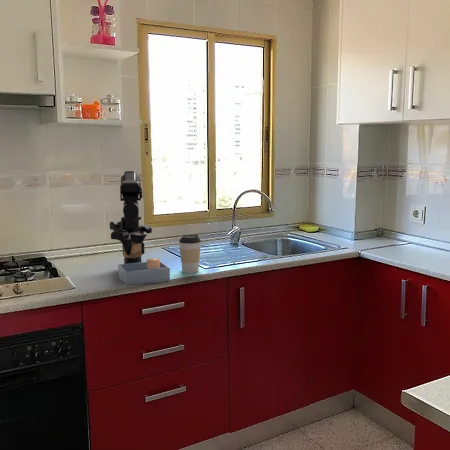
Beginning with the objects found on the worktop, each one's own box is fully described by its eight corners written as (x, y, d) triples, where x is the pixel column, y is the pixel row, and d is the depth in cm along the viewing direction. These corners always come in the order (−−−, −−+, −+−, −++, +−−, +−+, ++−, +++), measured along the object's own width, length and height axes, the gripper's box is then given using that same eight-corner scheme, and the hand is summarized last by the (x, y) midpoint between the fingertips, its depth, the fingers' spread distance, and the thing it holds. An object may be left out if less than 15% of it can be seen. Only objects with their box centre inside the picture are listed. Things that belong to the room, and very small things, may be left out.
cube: (141, 255, 199) (141, 243, 198) (133, 258, 195) (133, 245, 194) (131, 254, 201) (131, 242, 200) (123, 257, 197) (123, 244, 196)
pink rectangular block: (155, 274, 202) (154, 257, 201) (162, 276, 198) (162, 259, 198) (145, 277, 198) (144, 259, 198) (152, 278, 195) (151, 261, 194)
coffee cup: (183, 274, 205) (182, 238, 203) (176, 269, 213) (175, 234, 211) (204, 272, 209) (204, 236, 206) (196, 267, 217) (196, 232, 214)
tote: (160, 272, 208) (159, 260, 208) (169, 280, 197) (169, 267, 196) (118, 276, 202) (118, 264, 201) (126, 285, 190) (125, 272, 189)
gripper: (129, 210, 207) (131, 247, 210) (98, 216, 191) (100, 256, 193) (152, 212, 202) (153, 250, 205) (121, 218, 186) (123, 259, 188)
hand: (132, 253), depth 198 cm, fingers closed on cube, 5 cm apart
